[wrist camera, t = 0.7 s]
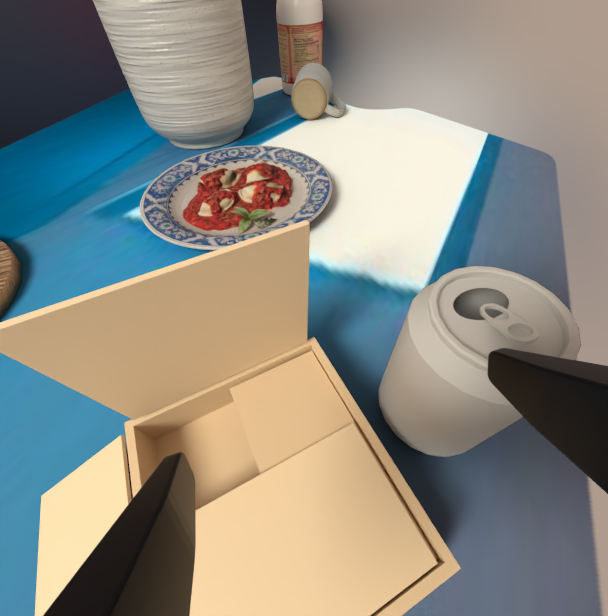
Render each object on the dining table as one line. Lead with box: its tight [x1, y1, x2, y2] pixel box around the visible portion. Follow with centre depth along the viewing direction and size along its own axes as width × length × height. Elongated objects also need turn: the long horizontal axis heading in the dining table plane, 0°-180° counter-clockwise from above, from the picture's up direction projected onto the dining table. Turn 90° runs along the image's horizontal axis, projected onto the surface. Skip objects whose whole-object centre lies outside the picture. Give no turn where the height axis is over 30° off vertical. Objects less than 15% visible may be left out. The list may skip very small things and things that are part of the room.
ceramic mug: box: [291, 63, 346, 120], centre depth 58 cm, size 11×8×8 cm
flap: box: [0, 220, 310, 420], centre depth 16 cm, size 1×12×11 cm, turn 115°
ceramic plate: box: [140, 146, 332, 250], centre depth 41 cm, size 26×26×3 cm
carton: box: [35, 337, 461, 616], centre depth 17 cm, size 15×21×4 cm
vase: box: [93, 0, 254, 150], centre depth 43 cm, size 20×20×34 cm
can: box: [379, 266, 581, 457], centre depth 18 cm, size 8×8×12 cm
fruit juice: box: [276, 0, 323, 95], centre depth 59 cm, size 9×9×28 cm
